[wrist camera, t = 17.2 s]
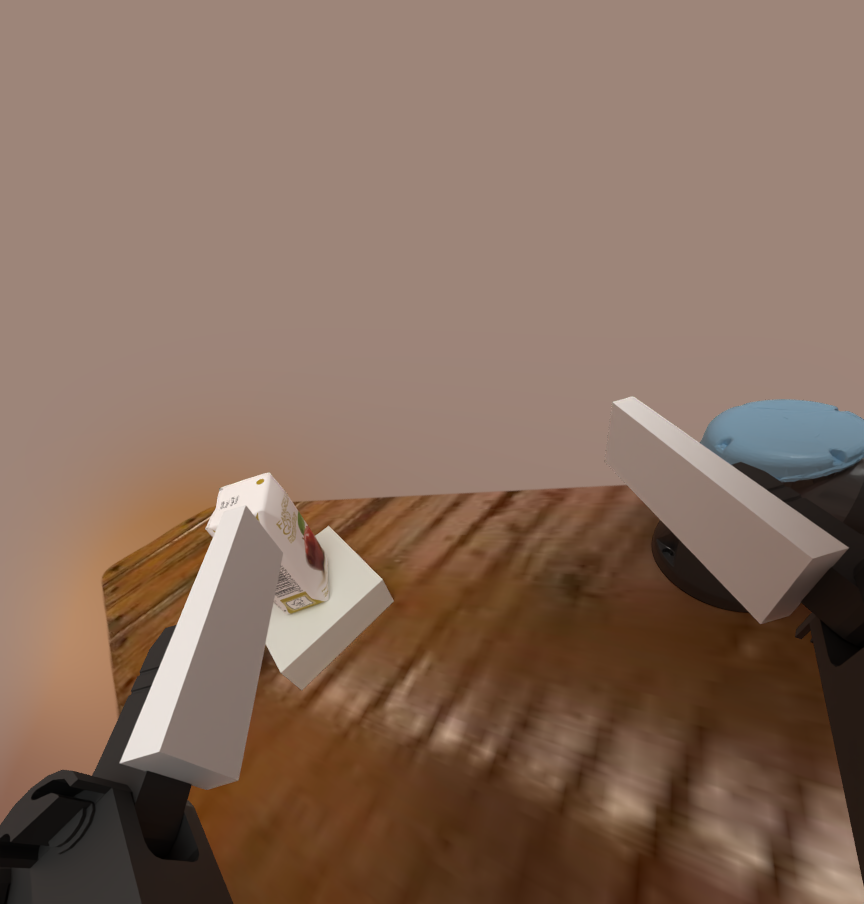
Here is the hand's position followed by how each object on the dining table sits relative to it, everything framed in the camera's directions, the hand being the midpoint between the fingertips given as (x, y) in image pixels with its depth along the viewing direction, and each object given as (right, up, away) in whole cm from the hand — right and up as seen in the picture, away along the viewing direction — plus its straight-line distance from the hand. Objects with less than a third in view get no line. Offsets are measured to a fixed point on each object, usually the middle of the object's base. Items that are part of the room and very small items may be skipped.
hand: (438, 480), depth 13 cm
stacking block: (-17, -23, +42) cm, 51 cm away
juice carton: (-18, -19, +38) cm, 47 cm away
